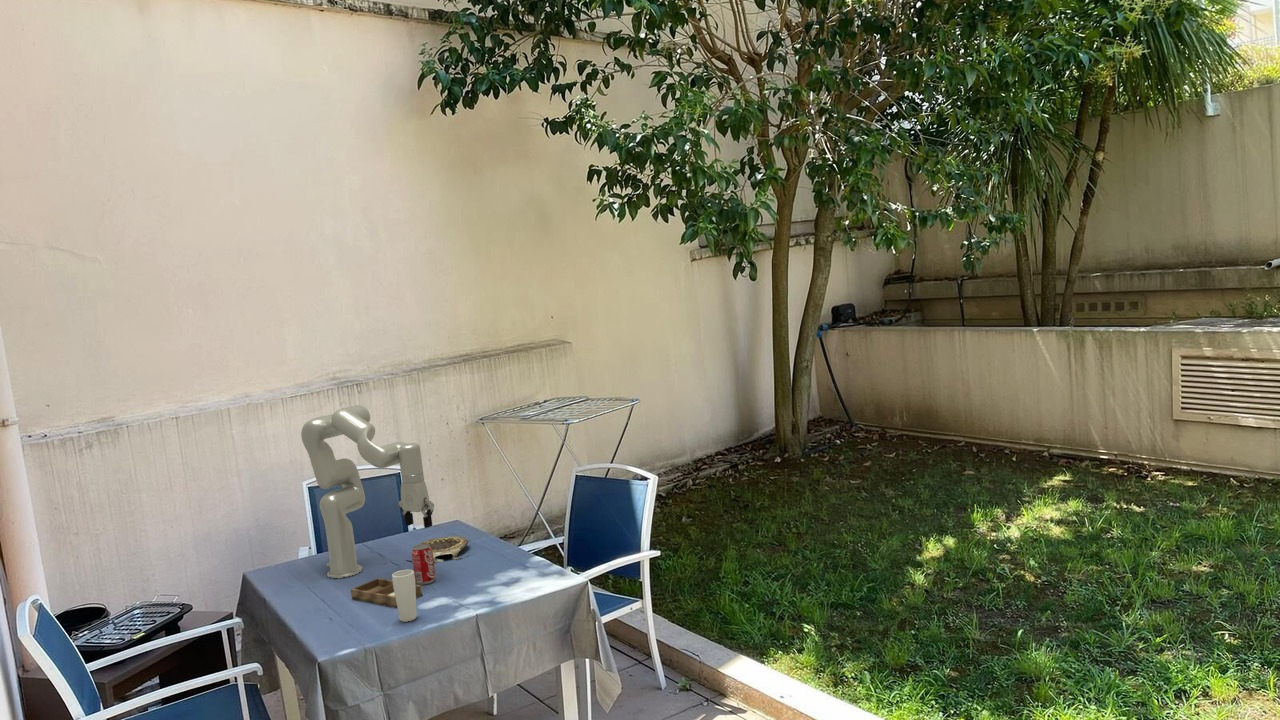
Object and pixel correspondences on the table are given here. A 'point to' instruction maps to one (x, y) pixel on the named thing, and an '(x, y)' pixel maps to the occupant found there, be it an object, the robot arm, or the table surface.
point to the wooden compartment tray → (379, 592)
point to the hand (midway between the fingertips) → (419, 526)
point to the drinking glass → (405, 594)
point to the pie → (446, 546)
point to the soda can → (423, 564)
